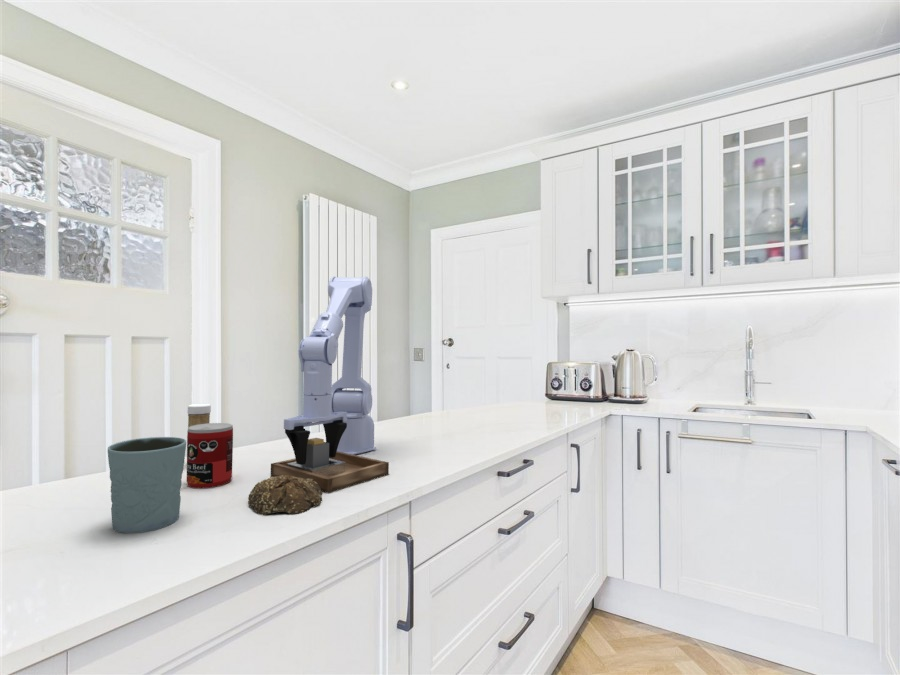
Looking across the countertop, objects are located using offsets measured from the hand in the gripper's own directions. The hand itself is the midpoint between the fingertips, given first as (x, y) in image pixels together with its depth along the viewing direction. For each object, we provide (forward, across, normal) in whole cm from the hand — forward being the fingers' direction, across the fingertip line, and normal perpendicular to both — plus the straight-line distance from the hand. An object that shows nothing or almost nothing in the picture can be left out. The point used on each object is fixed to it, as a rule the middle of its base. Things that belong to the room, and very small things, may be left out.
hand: (316, 459), depth 98 cm
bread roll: (+4, +14, +9) cm, 17 cm away
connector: (+3, 0, 0) cm, 3 cm away
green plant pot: (+3, +32, +1) cm, 32 cm away
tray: (+3, -2, +2) cm, 4 cm away
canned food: (+3, +16, -12) cm, 20 cm away
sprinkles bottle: (+3, +11, -27) cm, 29 cm away
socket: (+3, 0, 0) cm, 3 cm away
